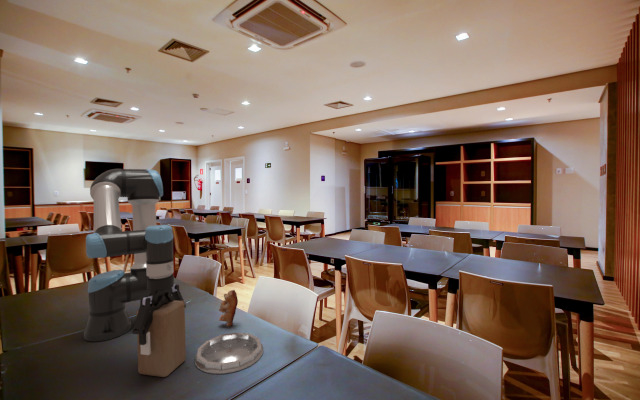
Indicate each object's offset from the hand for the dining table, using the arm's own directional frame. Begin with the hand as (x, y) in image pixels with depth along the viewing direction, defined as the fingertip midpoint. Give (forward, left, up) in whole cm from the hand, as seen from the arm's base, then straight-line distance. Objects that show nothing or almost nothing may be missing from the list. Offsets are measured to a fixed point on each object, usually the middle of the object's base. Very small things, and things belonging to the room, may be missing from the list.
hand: (162, 342), depth 95 cm
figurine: (+6, +30, -8) cm, 32 cm away
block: (0, 0, -8) cm, 8 cm away
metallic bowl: (+17, +11, -8) cm, 22 cm away
